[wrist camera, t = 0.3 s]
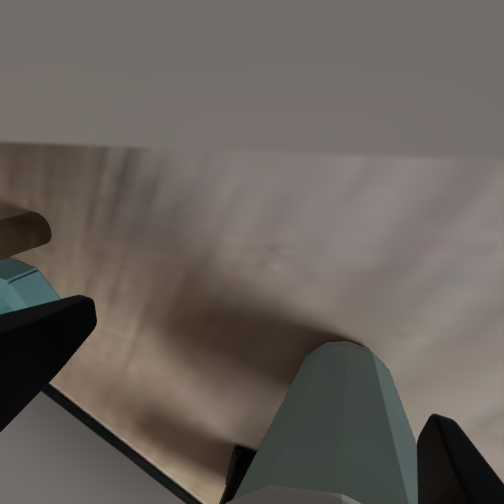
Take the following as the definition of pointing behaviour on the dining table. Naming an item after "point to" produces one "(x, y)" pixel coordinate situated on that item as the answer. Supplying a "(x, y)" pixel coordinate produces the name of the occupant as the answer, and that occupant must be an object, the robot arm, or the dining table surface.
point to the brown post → (23, 233)
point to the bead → (22, 286)
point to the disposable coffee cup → (336, 437)
